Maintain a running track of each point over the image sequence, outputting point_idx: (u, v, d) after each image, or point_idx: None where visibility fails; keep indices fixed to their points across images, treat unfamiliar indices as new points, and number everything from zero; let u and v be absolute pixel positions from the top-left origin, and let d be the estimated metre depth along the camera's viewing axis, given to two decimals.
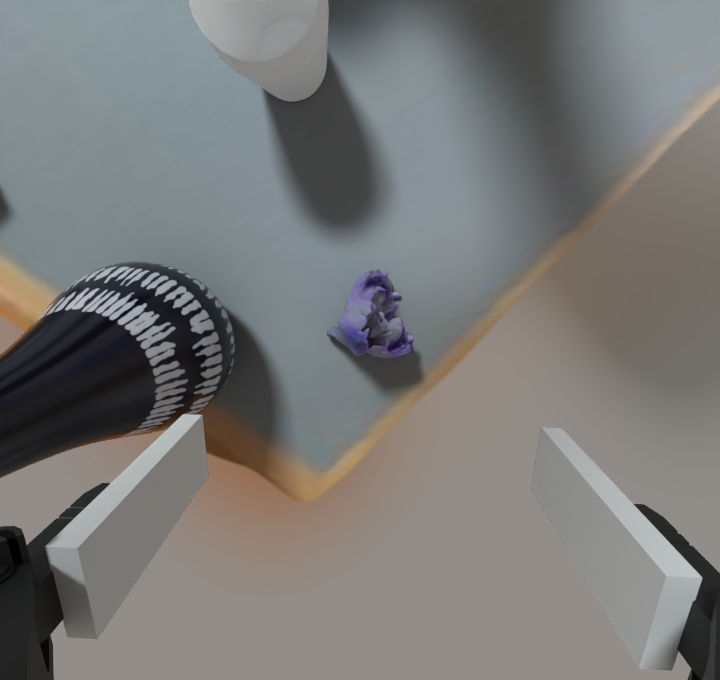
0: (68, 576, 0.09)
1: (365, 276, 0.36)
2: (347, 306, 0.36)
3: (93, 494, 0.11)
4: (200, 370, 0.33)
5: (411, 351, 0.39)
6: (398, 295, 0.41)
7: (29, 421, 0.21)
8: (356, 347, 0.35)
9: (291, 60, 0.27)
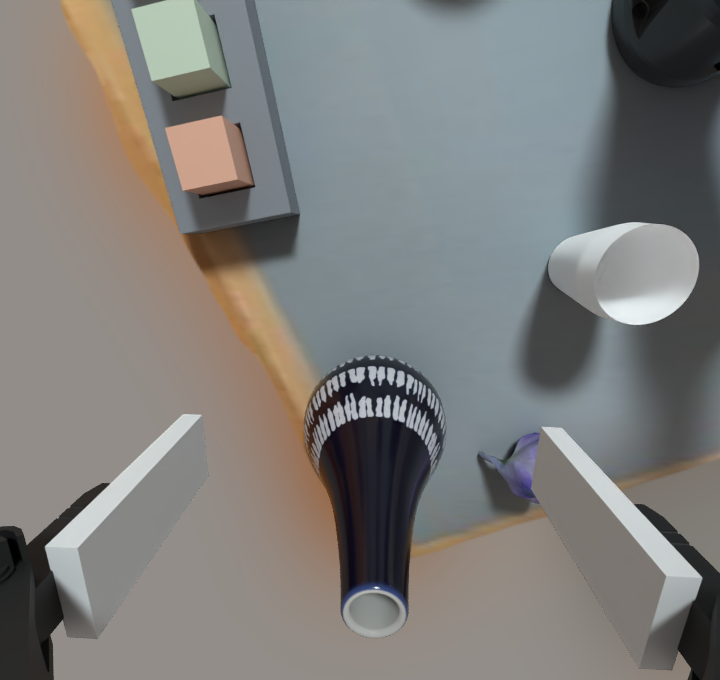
0: (68, 576, 0.09)
1: None
2: (528, 459, 0.46)
3: (93, 494, 0.11)
4: None
5: None
6: None
7: None
8: (525, 494, 0.45)
9: (630, 322, 0.36)
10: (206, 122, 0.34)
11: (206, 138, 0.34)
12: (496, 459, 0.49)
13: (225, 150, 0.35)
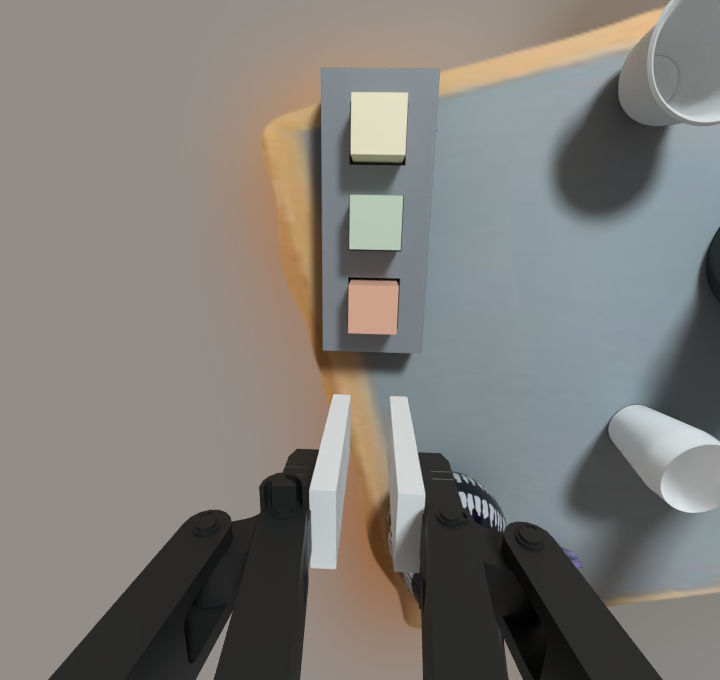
0: (323, 514, 0.11)
1: (576, 566, 0.55)
2: None
3: (297, 457, 0.13)
4: None
5: None
6: None
7: None
8: None
9: None
10: (384, 288, 0.41)
11: (380, 299, 0.41)
12: None
13: (393, 312, 0.42)
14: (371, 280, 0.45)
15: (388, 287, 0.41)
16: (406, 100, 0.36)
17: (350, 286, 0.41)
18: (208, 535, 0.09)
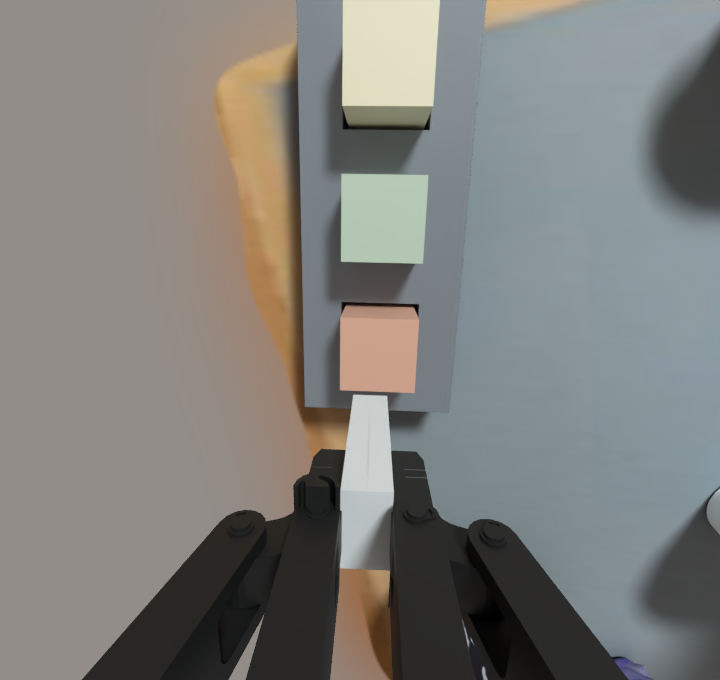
0: (353, 515, 0.11)
1: None
2: None
3: (322, 457, 0.13)
4: None
5: None
6: None
7: None
8: None
9: None
10: (396, 323, 0.26)
11: (390, 340, 0.26)
12: None
13: (410, 359, 0.27)
14: (376, 306, 0.30)
15: (402, 321, 0.26)
16: (436, 11, 0.21)
17: (343, 319, 0.26)
18: (243, 536, 0.09)
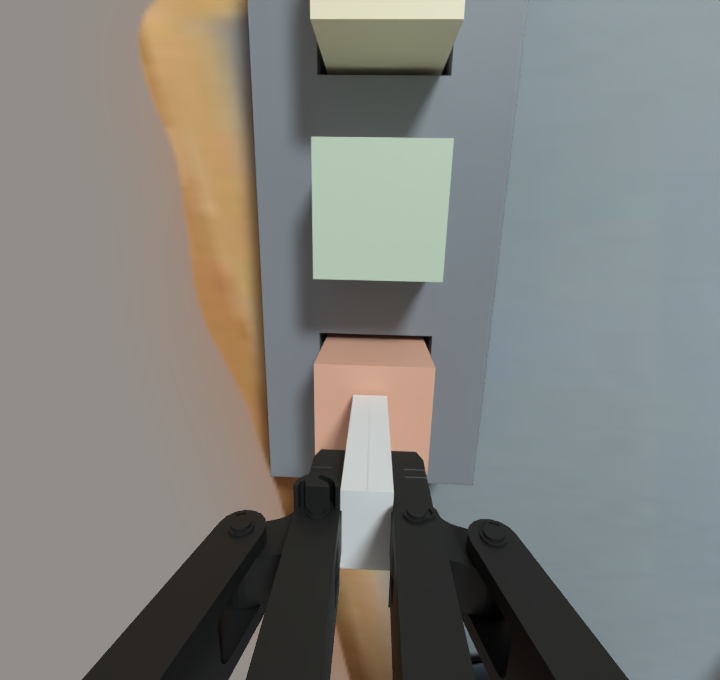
0: (353, 515, 0.11)
1: None
2: None
3: (321, 457, 0.13)
4: None
5: None
6: None
7: None
8: None
9: None
10: (400, 373, 0.17)
11: (391, 398, 0.17)
12: None
13: (422, 425, 0.18)
14: (370, 339, 0.21)
15: (410, 370, 0.17)
16: None
17: (318, 367, 0.17)
18: (243, 536, 0.09)
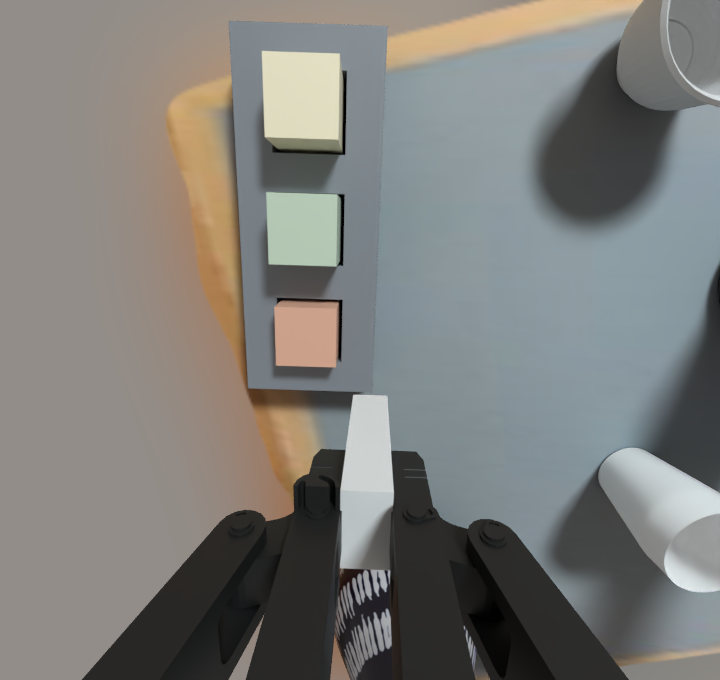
0: (353, 515, 0.11)
1: None
2: None
3: (322, 457, 0.13)
4: None
5: None
6: None
7: None
8: None
9: None
10: (319, 311, 0.33)
11: (314, 325, 0.33)
12: None
13: (331, 340, 0.34)
14: None
15: (324, 310, 0.33)
16: (337, 65, 0.27)
17: (276, 308, 0.33)
18: (243, 536, 0.09)
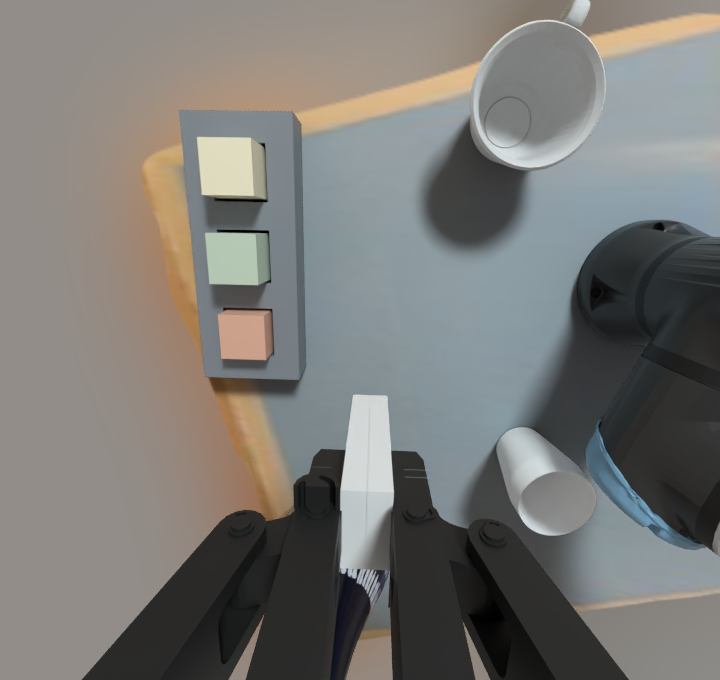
0: (353, 515, 0.11)
1: None
2: None
3: (321, 457, 0.13)
4: None
5: None
6: None
7: None
8: None
9: None
10: (250, 318, 0.44)
11: (248, 328, 0.45)
12: None
13: (261, 339, 0.45)
14: None
15: (254, 317, 0.44)
16: (249, 145, 0.38)
17: (219, 316, 0.44)
18: (243, 536, 0.09)
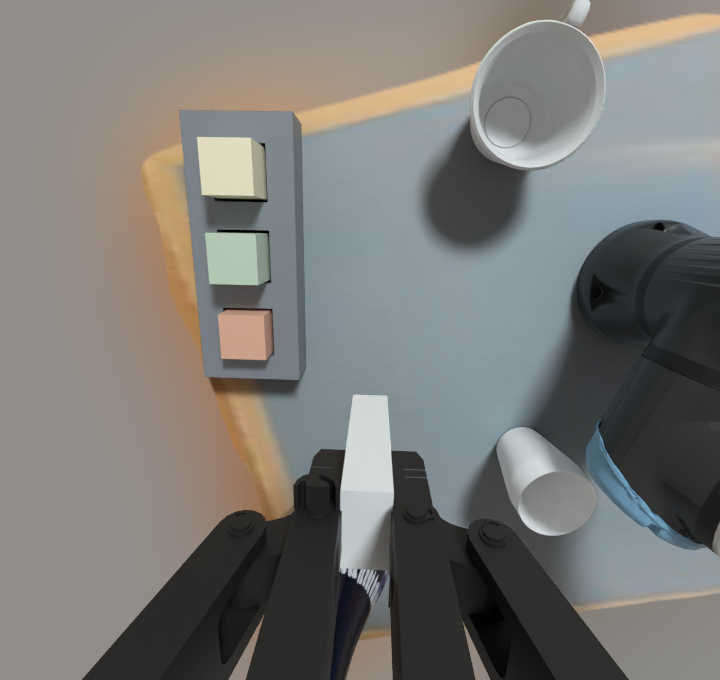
0: (353, 515, 0.11)
1: None
2: None
3: (321, 457, 0.13)
4: None
5: None
6: None
7: None
8: None
9: None
10: (250, 318, 0.44)
11: (248, 328, 0.45)
12: None
13: (261, 339, 0.45)
14: None
15: (254, 317, 0.44)
16: (249, 145, 0.38)
17: (219, 316, 0.44)
18: (243, 536, 0.09)
